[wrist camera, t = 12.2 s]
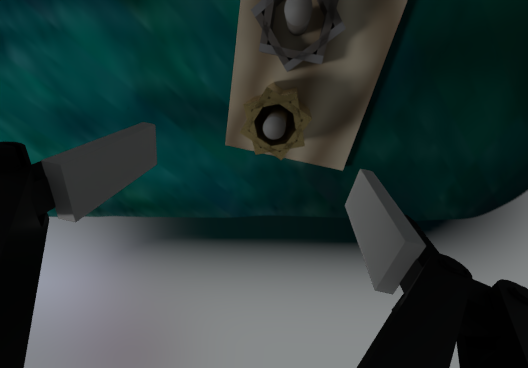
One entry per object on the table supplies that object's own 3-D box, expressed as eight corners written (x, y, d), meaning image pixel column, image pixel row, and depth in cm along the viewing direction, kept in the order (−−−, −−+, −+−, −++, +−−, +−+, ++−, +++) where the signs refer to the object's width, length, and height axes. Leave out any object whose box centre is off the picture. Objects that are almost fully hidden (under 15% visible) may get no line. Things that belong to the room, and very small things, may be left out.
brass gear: (256, 147, 34) (248, 165, 28) (243, 89, 31) (229, 95, 25) (312, 137, 33) (316, 154, 26) (304, 74, 29) (307, 77, 23)
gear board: (227, 141, 36) (207, 164, 28) (248, -40, 26) (225, -91, 18) (341, 166, 36) (354, 197, 27) (406, -10, 26) (460, -46, 17)
